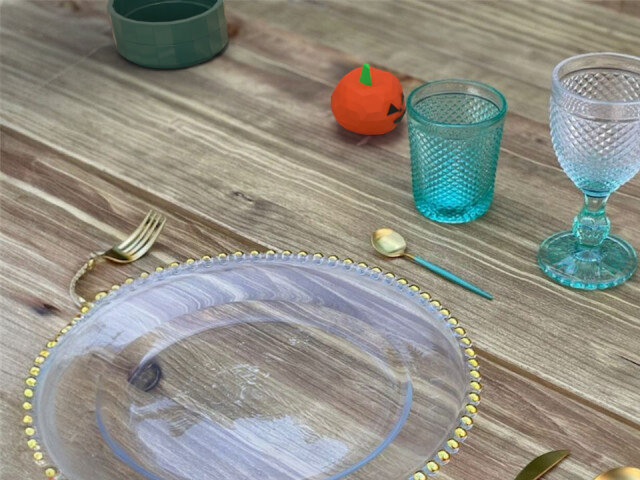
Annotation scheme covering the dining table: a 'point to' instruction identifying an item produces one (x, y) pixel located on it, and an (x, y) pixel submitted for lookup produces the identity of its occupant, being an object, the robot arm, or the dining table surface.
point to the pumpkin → (368, 101)
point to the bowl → (168, 31)
